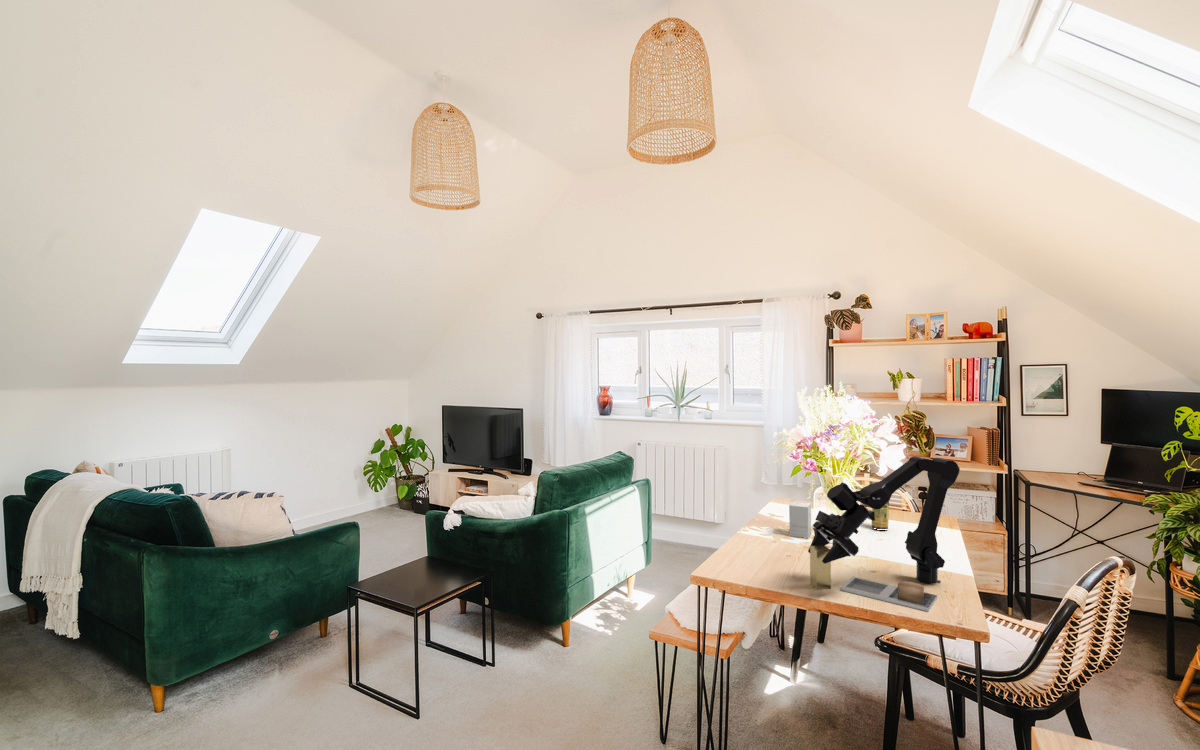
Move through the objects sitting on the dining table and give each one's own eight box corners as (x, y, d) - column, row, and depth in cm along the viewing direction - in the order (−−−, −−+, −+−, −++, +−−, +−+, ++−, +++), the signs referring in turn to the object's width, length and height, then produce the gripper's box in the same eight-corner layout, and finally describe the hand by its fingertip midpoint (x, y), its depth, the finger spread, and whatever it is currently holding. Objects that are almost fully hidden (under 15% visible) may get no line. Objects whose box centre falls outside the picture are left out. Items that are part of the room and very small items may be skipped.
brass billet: (823, 584, 176) (823, 545, 176) (830, 589, 172) (830, 550, 172) (810, 584, 176) (810, 545, 176) (816, 589, 171) (816, 550, 171)
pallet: (853, 582, 177) (853, 576, 177) (937, 602, 162) (937, 595, 162) (840, 593, 169) (840, 586, 169) (928, 615, 154) (928, 608, 154)
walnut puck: (900, 593, 166) (900, 579, 166) (926, 599, 162) (926, 585, 162) (894, 600, 161) (894, 586, 161) (920, 606, 157) (920, 592, 157)
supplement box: (811, 534, 230) (811, 503, 230) (808, 539, 224) (808, 507, 223) (792, 531, 234) (792, 501, 234) (788, 536, 227) (788, 504, 227)
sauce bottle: (870, 530, 236) (870, 482, 236) (872, 526, 241) (872, 480, 241) (888, 532, 232) (888, 484, 232) (889, 529, 238) (890, 481, 237)
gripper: (818, 495, 183) (785, 530, 182) (848, 510, 165) (811, 548, 164) (841, 519, 184) (809, 554, 183) (874, 536, 165) (838, 575, 165)
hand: (815, 557), depth 174 cm, fingers open, 9 cm apart
